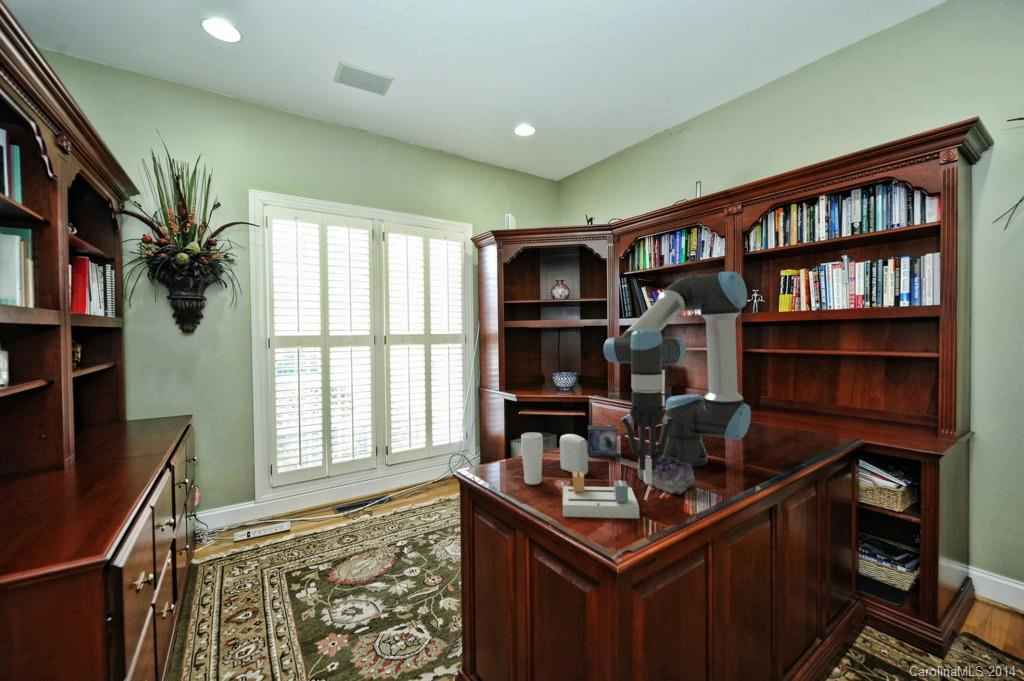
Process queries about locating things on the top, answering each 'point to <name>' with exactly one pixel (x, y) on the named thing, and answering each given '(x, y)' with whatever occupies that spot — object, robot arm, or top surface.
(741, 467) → the top surface
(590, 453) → the small box
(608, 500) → the fader console
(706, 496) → the top surface
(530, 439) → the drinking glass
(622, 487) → the slate fader
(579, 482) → the orange fader
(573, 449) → the white slotted device
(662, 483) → the geode
